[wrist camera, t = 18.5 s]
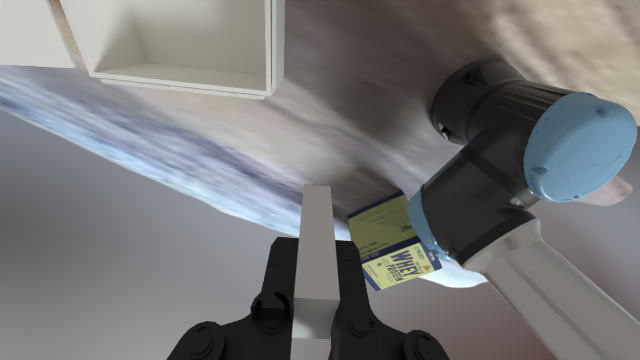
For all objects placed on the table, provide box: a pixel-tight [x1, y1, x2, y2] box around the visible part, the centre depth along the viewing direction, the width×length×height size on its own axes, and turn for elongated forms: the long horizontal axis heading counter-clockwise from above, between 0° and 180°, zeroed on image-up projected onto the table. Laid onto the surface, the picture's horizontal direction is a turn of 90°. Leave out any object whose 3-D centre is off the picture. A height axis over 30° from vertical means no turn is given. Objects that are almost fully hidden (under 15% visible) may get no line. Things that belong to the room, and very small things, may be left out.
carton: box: [60, 0, 285, 100], centre depth 31 cm, size 24×20×12 cm
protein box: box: [347, 191, 442, 291], centre depth 53 cm, size 10×16×16 cm
